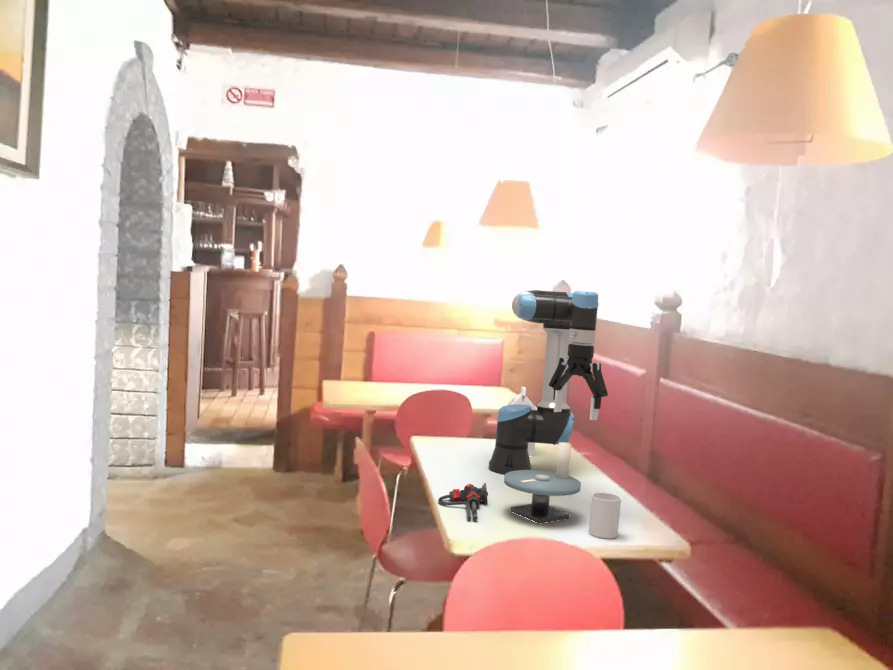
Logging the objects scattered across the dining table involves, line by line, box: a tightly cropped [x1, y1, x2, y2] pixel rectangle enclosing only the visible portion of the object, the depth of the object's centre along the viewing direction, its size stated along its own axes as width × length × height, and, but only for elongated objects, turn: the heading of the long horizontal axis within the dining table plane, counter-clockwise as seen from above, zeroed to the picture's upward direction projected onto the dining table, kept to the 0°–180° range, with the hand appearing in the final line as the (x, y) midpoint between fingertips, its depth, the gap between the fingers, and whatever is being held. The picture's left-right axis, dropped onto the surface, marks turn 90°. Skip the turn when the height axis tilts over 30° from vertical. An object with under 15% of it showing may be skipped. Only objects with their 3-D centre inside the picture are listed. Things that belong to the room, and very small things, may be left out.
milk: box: [507, 386, 537, 458], centre depth 307 cm, size 12×12×26 cm
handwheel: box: [503, 442, 582, 497], centre depth 223 cm, size 22×22×12 cm
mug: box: [588, 491, 622, 540], centre depth 213 cm, size 12×8×10 cm, turn 8°
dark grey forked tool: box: [438, 482, 489, 521], centre depth 226 cm, size 6×26×15 cm
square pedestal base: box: [509, 494, 570, 524], centre depth 224 cm, size 12×12×9 cm
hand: (575, 415), depth 228 cm, fingers open, 13 cm apart
